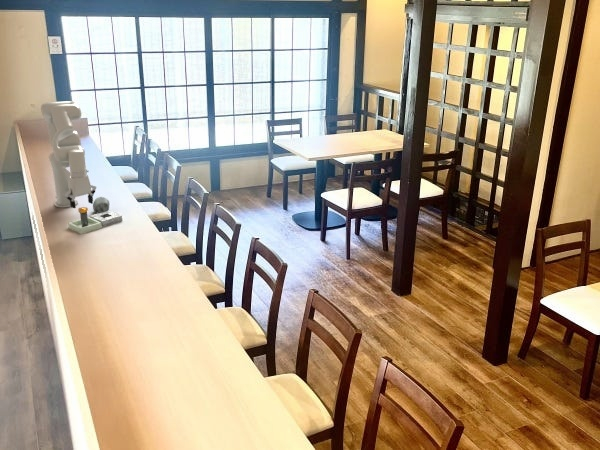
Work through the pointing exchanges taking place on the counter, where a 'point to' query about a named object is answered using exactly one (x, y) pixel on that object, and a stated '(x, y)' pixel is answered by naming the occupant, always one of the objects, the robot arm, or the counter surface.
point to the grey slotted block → (107, 217)
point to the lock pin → (83, 216)
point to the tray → (92, 226)
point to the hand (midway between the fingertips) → (82, 205)
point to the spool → (101, 205)
